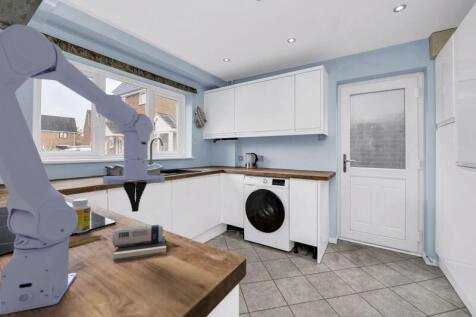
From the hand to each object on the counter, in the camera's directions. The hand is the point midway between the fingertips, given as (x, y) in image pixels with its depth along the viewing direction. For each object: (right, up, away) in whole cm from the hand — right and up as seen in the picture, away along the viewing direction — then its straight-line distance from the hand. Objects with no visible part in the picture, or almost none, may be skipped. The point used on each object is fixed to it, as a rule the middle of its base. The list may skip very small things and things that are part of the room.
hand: (135, 210), depth 57 cm
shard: (-19, -11, +4) cm, 22 cm away
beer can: (-5, -7, -1) cm, 9 cm away
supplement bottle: (-24, -10, +13) cm, 29 cm away
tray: (+2, -10, 0) cm, 10 cm away
